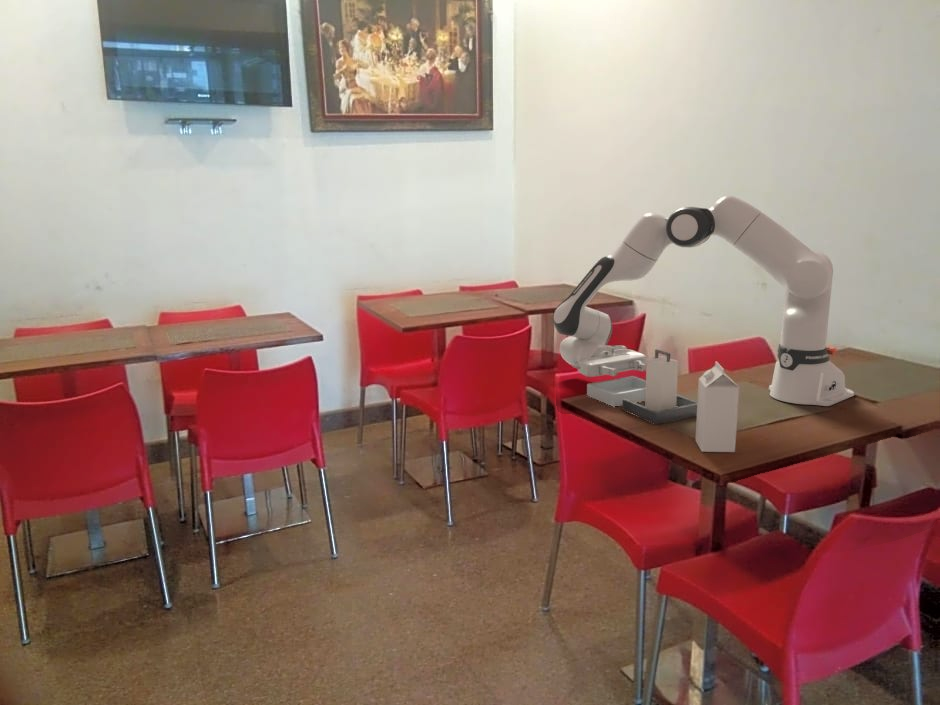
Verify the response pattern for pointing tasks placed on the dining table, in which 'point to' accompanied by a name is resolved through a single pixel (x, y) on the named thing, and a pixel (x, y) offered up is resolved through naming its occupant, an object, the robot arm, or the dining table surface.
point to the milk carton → (716, 411)
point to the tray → (618, 390)
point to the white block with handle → (661, 382)
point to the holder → (657, 417)
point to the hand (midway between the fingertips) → (629, 370)
